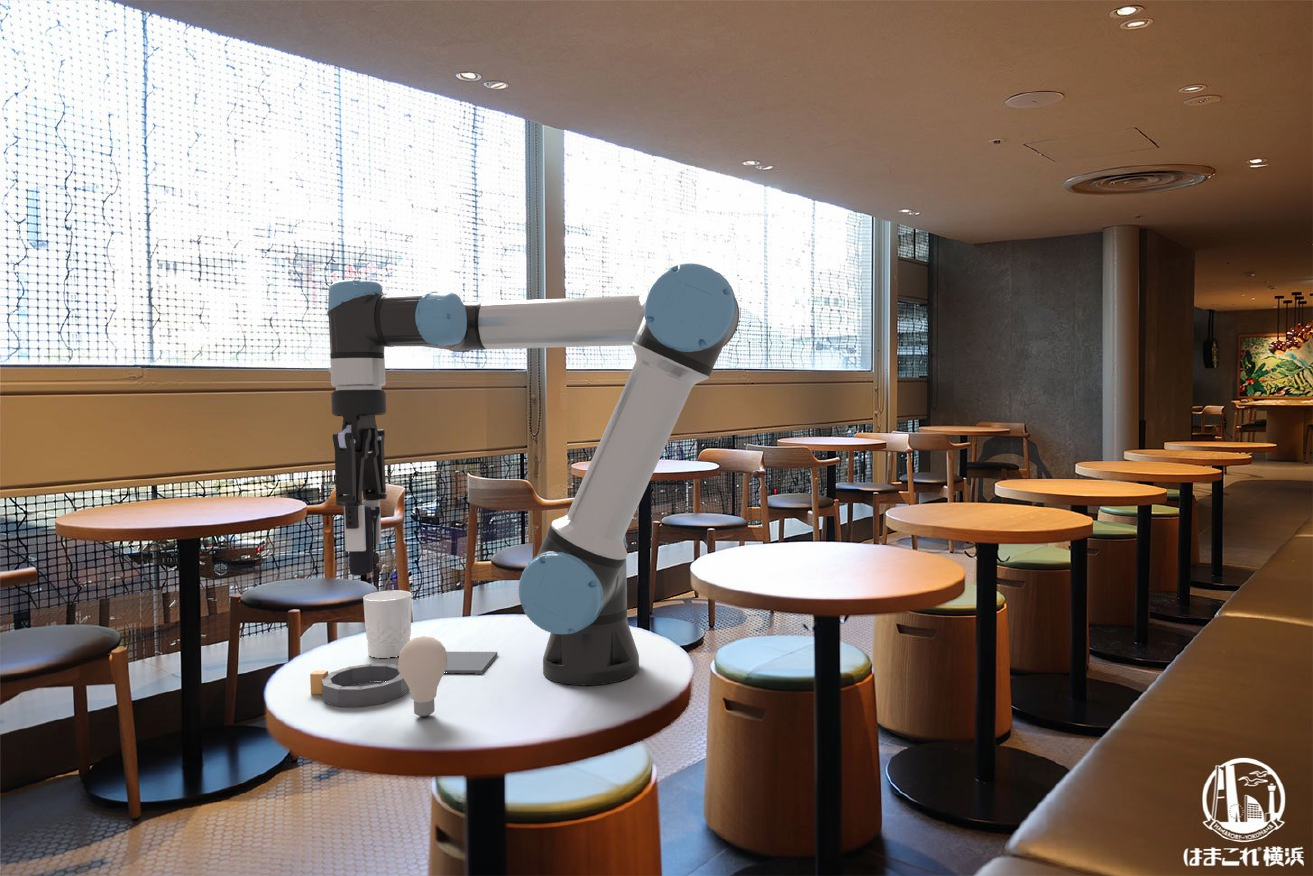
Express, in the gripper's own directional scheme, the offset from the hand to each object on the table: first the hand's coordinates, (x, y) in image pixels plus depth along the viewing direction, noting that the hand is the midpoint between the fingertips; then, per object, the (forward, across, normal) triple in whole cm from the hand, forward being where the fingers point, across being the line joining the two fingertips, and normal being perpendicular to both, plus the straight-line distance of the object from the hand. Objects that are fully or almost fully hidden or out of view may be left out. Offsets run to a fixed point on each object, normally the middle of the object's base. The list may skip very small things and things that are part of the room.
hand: (363, 546), depth 128 cm
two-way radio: (+4, 0, 0) cm, 4 cm away
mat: (+22, -14, +10) cm, 27 cm away
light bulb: (+22, +10, +12) cm, 27 cm away
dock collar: (+22, 0, -1) cm, 22 cm away
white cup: (+22, -20, -4) cm, 30 cm away
